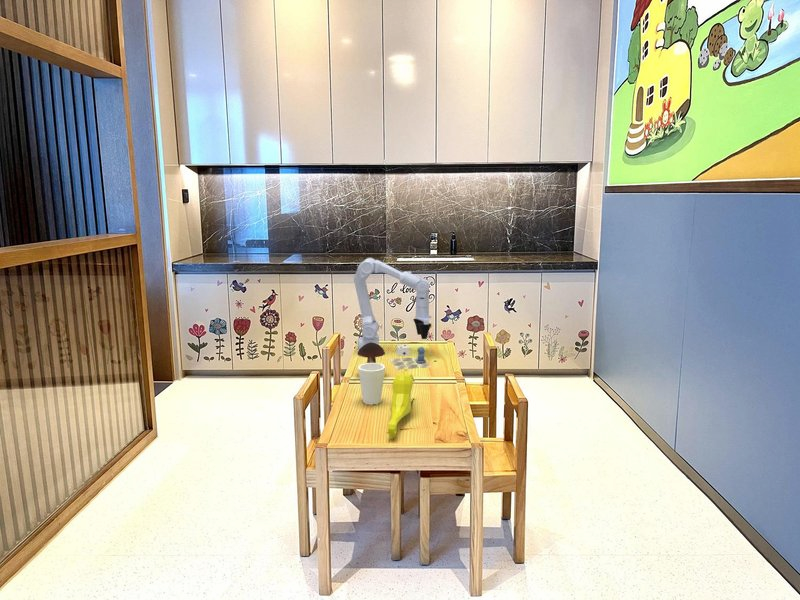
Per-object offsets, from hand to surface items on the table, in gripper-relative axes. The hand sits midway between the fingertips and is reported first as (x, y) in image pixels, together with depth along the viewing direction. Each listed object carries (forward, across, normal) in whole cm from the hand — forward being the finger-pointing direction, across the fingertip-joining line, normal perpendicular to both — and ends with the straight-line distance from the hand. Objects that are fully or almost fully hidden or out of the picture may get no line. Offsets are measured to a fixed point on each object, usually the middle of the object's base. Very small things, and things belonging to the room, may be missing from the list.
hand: (422, 336), depth 252 cm
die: (+10, +4, +8) cm, 13 cm away
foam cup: (+10, -47, +30) cm, 57 cm away
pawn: (+9, -9, +3) cm, 13 cm away
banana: (+10, -63, +23) cm, 68 cm away
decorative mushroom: (+10, -23, +27) cm, 36 cm away
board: (+10, -10, +8) cm, 16 cm away
